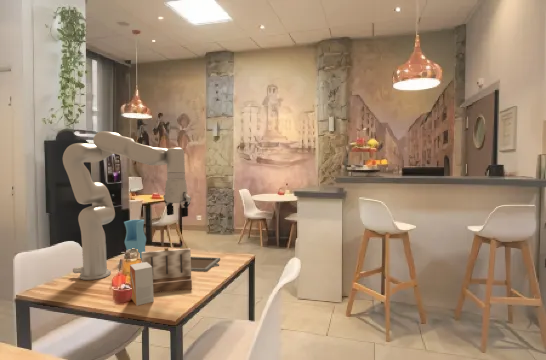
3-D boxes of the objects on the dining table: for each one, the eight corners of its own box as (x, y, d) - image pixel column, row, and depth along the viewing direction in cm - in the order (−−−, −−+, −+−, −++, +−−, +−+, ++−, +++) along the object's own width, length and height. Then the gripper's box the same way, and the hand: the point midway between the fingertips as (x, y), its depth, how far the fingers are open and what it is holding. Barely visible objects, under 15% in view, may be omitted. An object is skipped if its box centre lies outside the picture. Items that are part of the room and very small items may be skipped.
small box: (130, 298, 128) (129, 264, 127) (148, 294, 132) (147, 261, 131) (135, 306, 121) (134, 270, 121) (154, 301, 125) (152, 266, 124)
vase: (125, 259, 181) (123, 222, 180) (133, 255, 188) (132, 219, 187) (138, 260, 179) (137, 222, 178) (146, 256, 187) (145, 219, 186)
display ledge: (138, 294, 132) (137, 258, 131) (143, 282, 146) (141, 249, 145) (191, 289, 137) (190, 254, 136) (191, 277, 151) (190, 246, 150)
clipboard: (171, 255, 183) (225, 257, 177) (171, 258, 183) (225, 261, 177) (152, 266, 164) (212, 269, 159) (152, 270, 164) (212, 272, 159)
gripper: (156, 176, 150) (157, 215, 151) (182, 177, 140) (183, 218, 141) (170, 176, 157) (171, 213, 157) (196, 176, 146) (197, 216, 147)
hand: (177, 215), depth 149 cm, fingers open, 9 cm apart
